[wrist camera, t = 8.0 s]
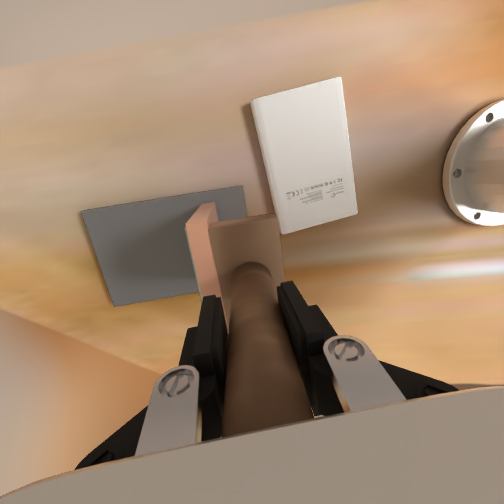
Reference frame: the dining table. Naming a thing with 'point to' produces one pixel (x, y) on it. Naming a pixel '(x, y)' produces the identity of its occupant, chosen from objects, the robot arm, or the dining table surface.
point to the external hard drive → (306, 154)
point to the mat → (153, 243)
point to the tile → (203, 250)
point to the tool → (256, 328)
